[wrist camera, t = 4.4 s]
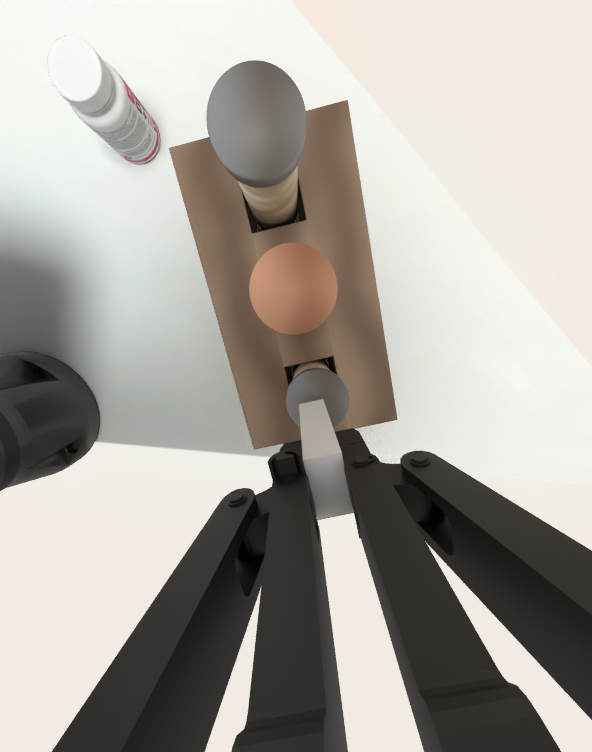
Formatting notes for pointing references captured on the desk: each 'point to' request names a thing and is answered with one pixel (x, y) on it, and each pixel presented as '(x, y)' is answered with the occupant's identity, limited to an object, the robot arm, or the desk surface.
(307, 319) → the plug middle
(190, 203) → the socket board
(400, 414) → the desk surface
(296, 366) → the plug
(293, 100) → the plug
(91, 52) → the pill bottle
